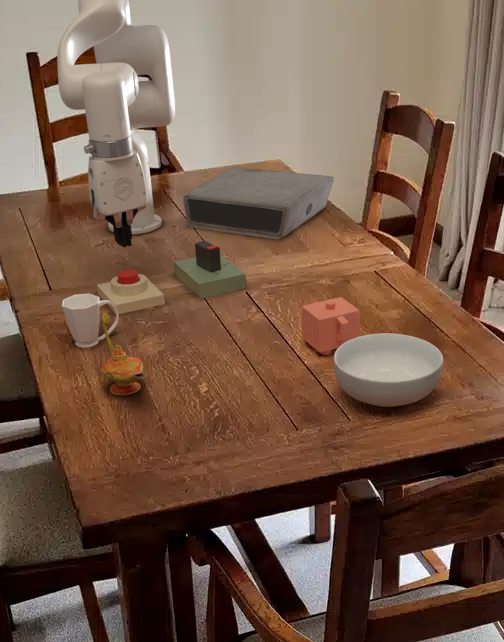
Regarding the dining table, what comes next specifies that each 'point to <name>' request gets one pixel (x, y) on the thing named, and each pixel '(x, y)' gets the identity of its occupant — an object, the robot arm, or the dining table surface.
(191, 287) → the panel
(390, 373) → the cereal bowl
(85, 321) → the cup
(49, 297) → the dining table surface
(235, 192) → the speaker
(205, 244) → the red-striped black box
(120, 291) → the switch box
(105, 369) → the magic lamp
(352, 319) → the pink cube teapot
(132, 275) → the power button
